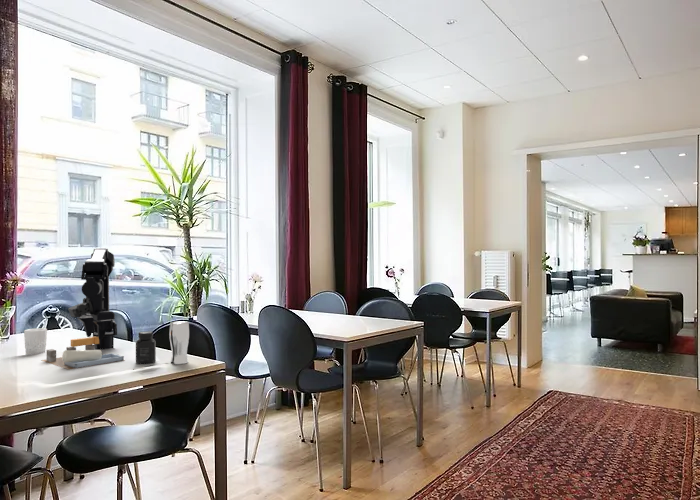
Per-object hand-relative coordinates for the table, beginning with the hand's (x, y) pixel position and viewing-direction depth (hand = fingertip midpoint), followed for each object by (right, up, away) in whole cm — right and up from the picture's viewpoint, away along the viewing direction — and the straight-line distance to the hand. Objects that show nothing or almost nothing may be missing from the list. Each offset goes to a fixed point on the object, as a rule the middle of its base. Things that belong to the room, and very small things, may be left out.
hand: (94, 338), depth 192 cm
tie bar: (-9, -5, +12) cm, 16 cm away
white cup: (-33, -10, +20) cm, 40 cm away
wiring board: (-6, -10, +4) cm, 12 cm away
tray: (0, -9, 0) cm, 9 cm away
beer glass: (+29, -10, +4) cm, 31 cm away
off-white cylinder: (-3, -8, -3) cm, 9 cm away
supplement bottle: (+18, -10, +1) cm, 21 cm away
